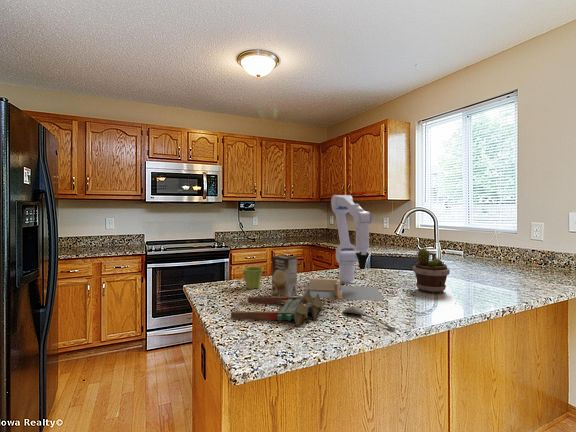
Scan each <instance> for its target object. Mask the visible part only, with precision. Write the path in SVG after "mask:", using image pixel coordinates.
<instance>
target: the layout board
mask: <svg viewBox="0 0 576 432" xmlns="http://www.w3.org/2000/svg"><path fill="white" fill-rule="evenodd" d="M338 279H340V292H339V294H338V296H337V297H334V291H335V284H336V282H337V280H338ZM308 289H309V291H310V295H311V297H312V298H315V297H316V296H317V294H319V298H320V299H329V300H349V301H374V302H375V301H376V302H386V301H385V299H384V297H383V295H382V294H381V292H380V290H379V288H378V287H377V286H359V285H357V286H356V285H355V286H354V285H342V282H341V278H340V277H339V276H338V277H337V278H336V279H335V278H314V277H313V278H309V284H306V285H305V288H304V291H303V294H302V297H303V296H304V295H305V293H306V292H307V291H308Z"/></svg>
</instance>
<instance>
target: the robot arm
mask: <svg viewBox="0 0 576 432" xmlns="http://www.w3.org/2000/svg"><path fill="white" fill-rule="evenodd" d="M330 199H331V200H330V205H331V210H332V212H333V213H334V215H335V219H336V220H335V221H336V225H337V226H336V227H337V232H338V239H339V245H338V246H337V247H336V248H335V261H336V263H338V266H339V269H338V271H339V272H338V277H340V278H341V283H356V281H355V264H356V263H358V268H359V269H360V270H365V269H366V264H367V261H368V258H369V256H370V254H369V251H372V247H371V248H370V225H371V223H372V221H373V218H372V217H373V216H372V213H371V211H369V210H367V211H365V210H364V209H363V208H362V207H361V206H360V204H359V203H355V202H354V199H353V196H352V195H351V194H333V195H332V196H331V198H330ZM348 213H349V215H350V216H352V218H353V222H354V223H353V224H354V228H355V245H353V244H352V243H351V240H350V235H349V228H348V223H347V218H346V214H348Z"/></svg>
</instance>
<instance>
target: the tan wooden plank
mask: <svg viewBox="0 0 576 432" xmlns="http://www.w3.org/2000/svg"><path fill="white" fill-rule="evenodd" d="M337 279H338V278H337ZM339 292H340V279H338V280H337V282H336V284H335V291H334V297H337V296H338V294H339Z"/></svg>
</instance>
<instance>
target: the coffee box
mask: <svg viewBox="0 0 576 432" xmlns="http://www.w3.org/2000/svg"><path fill="white" fill-rule="evenodd" d="M271 266H272V267H271V294H274V295H277V296H278V295H279V296H281V297H291V296H294V295H297V294H298V292H297V290H298V289H297V286H298V283H297V281H298V257H296V256H292V255H283V254H279V255H274V256H272V257H271Z"/></svg>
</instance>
